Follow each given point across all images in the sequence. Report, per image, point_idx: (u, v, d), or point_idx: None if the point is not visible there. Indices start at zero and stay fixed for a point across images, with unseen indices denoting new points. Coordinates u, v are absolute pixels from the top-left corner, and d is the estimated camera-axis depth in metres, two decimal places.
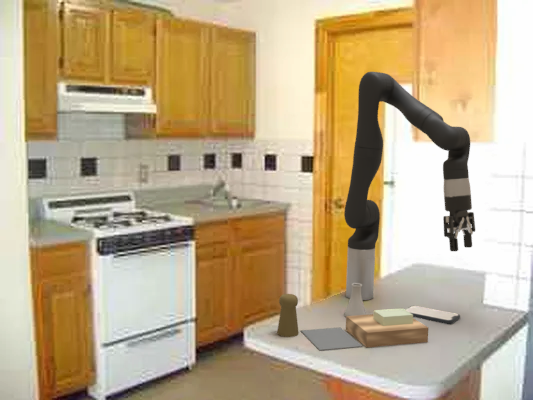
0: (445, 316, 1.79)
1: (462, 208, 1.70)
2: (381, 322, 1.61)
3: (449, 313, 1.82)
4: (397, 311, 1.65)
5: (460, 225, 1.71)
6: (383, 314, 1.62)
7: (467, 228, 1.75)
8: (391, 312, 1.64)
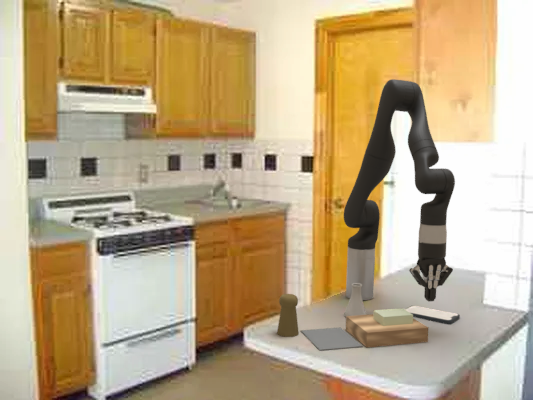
0: (445, 316, 1.79)
1: (428, 256, 1.62)
2: (381, 322, 1.61)
3: (449, 313, 1.82)
4: (397, 311, 1.65)
5: (430, 274, 1.64)
6: (383, 314, 1.62)
7: (433, 278, 1.65)
8: (391, 312, 1.64)
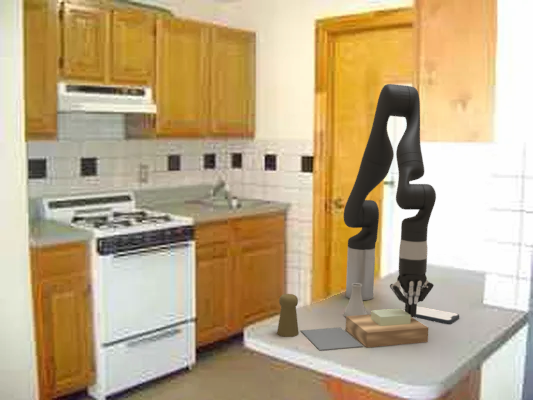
0: (444, 316, 1.79)
1: (409, 272, 1.61)
2: (379, 322, 1.61)
3: (448, 313, 1.82)
4: (395, 311, 1.65)
5: (410, 290, 1.63)
6: (380, 314, 1.62)
7: (414, 294, 1.64)
8: (389, 312, 1.64)
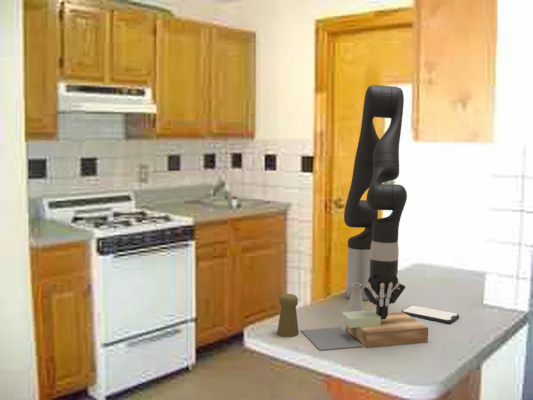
0: (444, 316, 1.79)
1: (379, 274, 1.58)
2: (348, 324, 1.59)
3: (448, 313, 1.82)
4: (366, 313, 1.63)
5: (381, 292, 1.60)
6: (350, 316, 1.60)
7: (385, 295, 1.62)
8: (359, 314, 1.62)
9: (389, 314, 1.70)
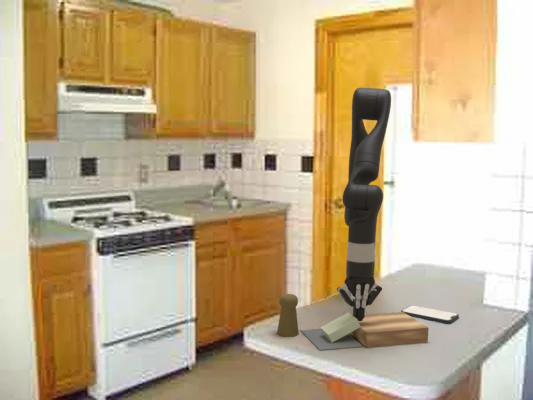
0: (444, 316, 1.79)
1: (355, 275, 1.56)
2: (329, 339, 1.58)
3: (448, 313, 1.82)
4: (343, 319, 1.61)
5: (358, 294, 1.58)
6: (328, 331, 1.59)
7: (362, 297, 1.60)
8: (337, 323, 1.61)
9: (389, 314, 1.70)
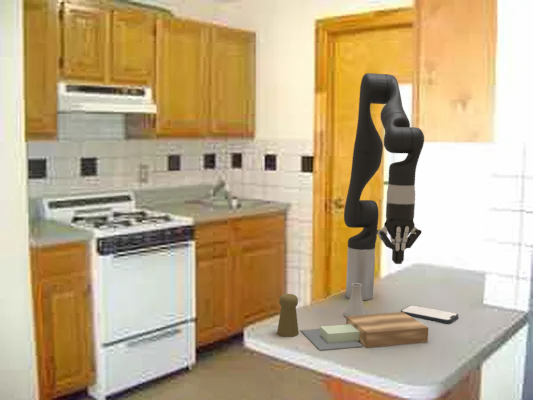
0: (443, 316, 1.79)
1: (395, 217, 1.58)
2: (326, 339, 1.58)
3: (447, 313, 1.82)
4: (344, 327, 1.62)
5: (397, 236, 1.60)
6: (328, 331, 1.59)
7: (401, 240, 1.61)
8: (338, 328, 1.61)
9: (389, 314, 1.70)
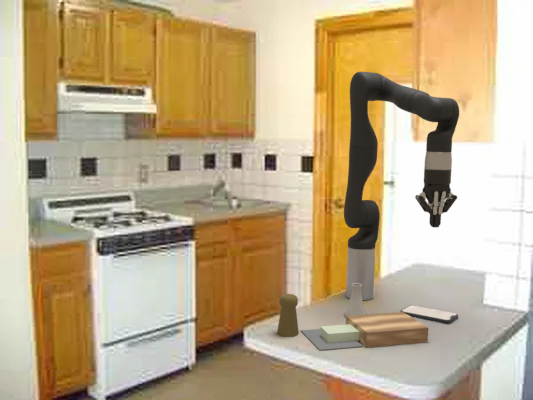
0: (443, 316, 1.79)
1: (434, 182, 1.67)
2: (326, 339, 1.58)
3: (447, 313, 1.82)
4: (344, 327, 1.62)
5: (435, 200, 1.69)
6: (328, 331, 1.59)
7: (438, 204, 1.71)
8: (338, 328, 1.61)
9: (389, 314, 1.70)
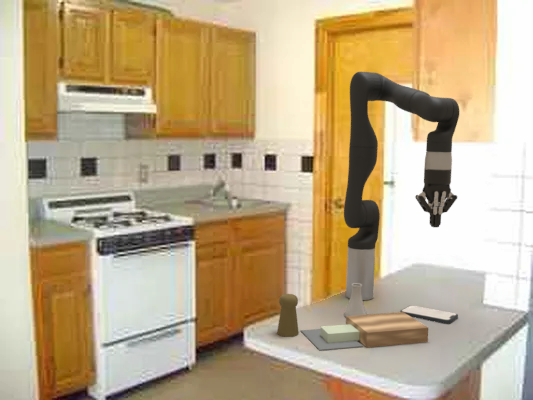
0: (443, 316, 1.79)
1: (434, 182, 1.68)
2: (326, 339, 1.58)
3: (447, 313, 1.82)
4: (344, 327, 1.62)
5: (435, 200, 1.69)
6: (328, 331, 1.59)
7: (438, 204, 1.71)
8: (338, 328, 1.61)
9: (389, 314, 1.70)
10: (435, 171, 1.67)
